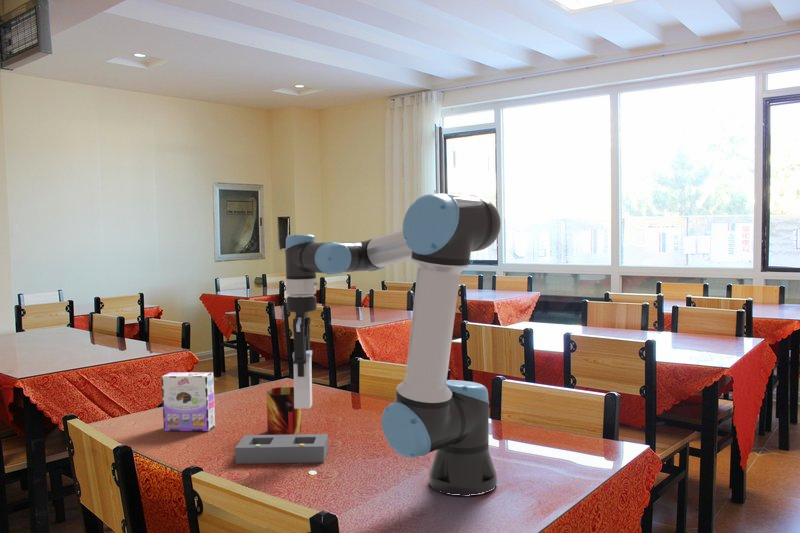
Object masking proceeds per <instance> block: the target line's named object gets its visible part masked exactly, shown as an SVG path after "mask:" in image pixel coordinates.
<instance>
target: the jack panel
mask: <svg viewBox="0 0 800 533" xmlns="http://www.w3.org/2000/svg"><path fill="white" fill-rule="evenodd" d="M328 451H329V433H317V434H316V433H314V434H313V433H312V434H311V433H309V434H307V433H305V434H303V433H302V434H301V433H299V434H294V435H268V434H245V435H244V436H243V437H242V438H241V440H239V442H238V443H237V445H236V446H235V447H234V456H235V460H234V461H235V464H291V463H293V464H294V463H296V464H297V463H300V464H301V463H303V464H304V463H305V464H306V463H309V464H310V463H325V460H326V458H327V454H328Z"/></svg>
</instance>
